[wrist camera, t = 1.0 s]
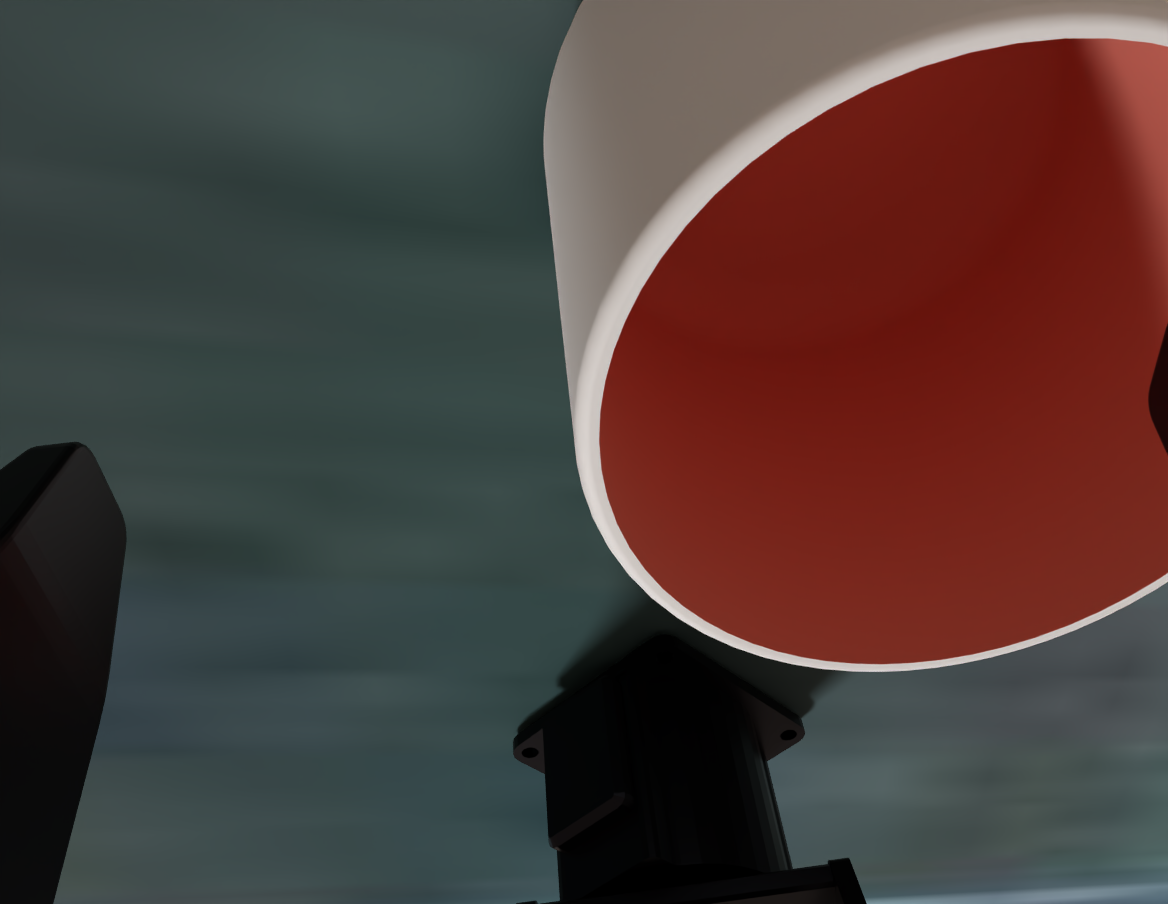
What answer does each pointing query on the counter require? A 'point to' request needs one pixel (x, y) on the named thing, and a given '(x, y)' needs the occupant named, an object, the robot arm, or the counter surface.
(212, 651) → the counter surface
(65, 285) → the counter surface
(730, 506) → the cup
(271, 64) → the counter surface
